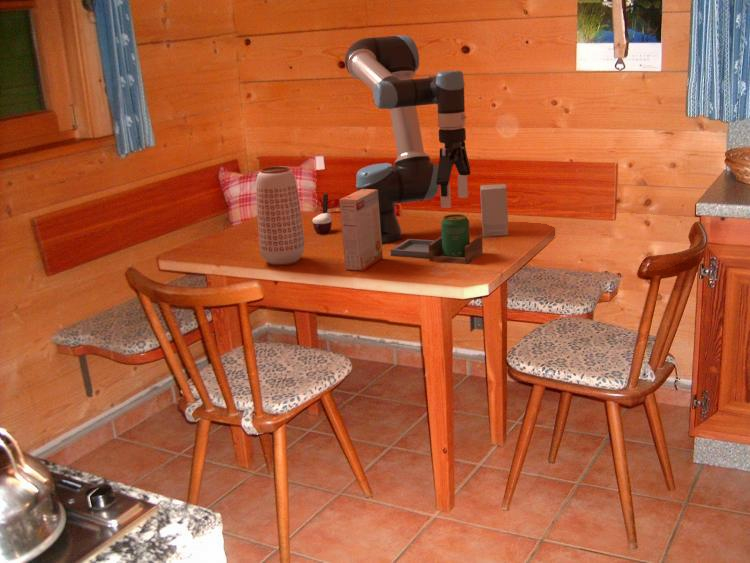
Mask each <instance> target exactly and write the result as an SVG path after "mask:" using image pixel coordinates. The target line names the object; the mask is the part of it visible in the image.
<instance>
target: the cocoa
mask: <svg viewBox="0 0 750 563" xmlns="http://www.w3.org/2000/svg"><path fill="white" fill-rule="evenodd" d="M322 196H323V197H322V213H320V214H318V215H316V216H315V217H313V218H312V225H313V228H314V231H315V232H316V233H317V234H320V235H321V234H327V233H329V232H330V231H331V229H332V224H333V223H332V220H333V215H332V214H330V213H328V205H329V204H328V202H329V198H328V197H329V194H328V193H323V194H322Z"/></svg>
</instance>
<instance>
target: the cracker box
mask: <svg viewBox="0 0 750 563" xmlns="http://www.w3.org/2000/svg"><path fill="white" fill-rule="evenodd" d="M338 203H339V212H340V214H339V215H340V222H341V234H342V245H343V254H344V255H343V256H344V269H345V270H346V271H359V272H360V271H361V272H363V271H365V270H366V269H367V268H369V267H370V266H373V265H374V264H375V263H377V262H378V261H379V260H381V259H383V257H384V255H383V243H382V240H381V227H380V213H379V200H378V190H376V189H361V190H359V191H357V190H356V191H355V192H352V193H350V194H349V195H346V196H344V197H342V198H339V200H338Z"/></svg>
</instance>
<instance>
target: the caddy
mask: <svg viewBox="0 0 750 563" xmlns="http://www.w3.org/2000/svg"><path fill="white" fill-rule="evenodd" d="M483 253H484V252H483V235H482V236H480V235H479V236H477V237H475V239H473V240H472V241H471V242H470V243H469V244H468V245H466V246H465V258H462V257H448V256H443V254H442V235H441V236H439V237H438V238H436V239H435V240H434V241H433V242H432V243H430V244H429V258H428V260H429V262H435V263H449V264H451V263H452V264H462V265H469V264H470V263H472V262H473V261H475V259H476V258H478V257H480V255H483Z"/></svg>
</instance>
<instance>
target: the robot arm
mask: <svg viewBox="0 0 750 563" xmlns="http://www.w3.org/2000/svg"><path fill="white" fill-rule="evenodd" d="M344 65H345V68H346V71H347V72H348V74H350V75H351V76H352V77H353V78H354V79H357V80H361V81H362V83H364V84H365V85H366V86H367V87H368V88H369V89H370V90H371V91H372V95H373V97H372V98H373V102H374V103H375V107H377V108H378V109H380V110H382V109H383V110H389V113H390V118H391V124H392V131H393V135H394V136H393V137H394V142H395V146H396V147H395V148H396V153H397V158H396V160H395V161H394V167H393V164H392V163H388V162H383V163H375V164H370V165H367V166H364V167H362V168H360V169H359V170H358V171H357V173H356V181H355V183H356V184H355V187H356V191H359V190H361V189H376V190H378V200H379V213H380V227H381V240H382V244H385V243H391V242H395V241H398V240H400V239H401V238H402V235H403V234H402V228H401V226H400V223H399V220H398V218H397V215H396V209H395V205H397V204H403V203H404V204H405V203H410V202H411V203H412V202H413V203H414V202H423V201H427V200H432V199H433V198H435V197H436V195H437V193H438V191H439V192H440V194H439V195H440V208H443V209H444V208H445V209H448V208H449V209H450V208H452V201H451V200H452V199H451V184H449V182H450V178H451V174H452V170H453V165H455V168H456V170H457V173H458V175H457V191H458V192H457V195H458V198H459V199H460V198H461V199H462V198H463V199H468V197H469V188H468V186H469V185H468V176H469V175H471V168H470V167H471V166H470V162H469V157H468V154H467V150H466V139H467V134H466V127H465V126H466V119H467V115H465V114H466V112H465V111H466V108H465V86H466V85H465V79H464V78H465V77H464V73H463V72H462V71H461V70H442V71H438V72H437V73H436V76H435V75H434V76H428V77H424V78H423V77H422V78H415V76H416V72H417V71H418V69H419V67H420V54H419V49H418V47H417V44H416V42H415V40H414V39H413V38H412V37H411V36H408V35H399V34H396V35H389V36H379V37H378V36H377V37H376V36H374V37H364V38H361V39H359V40H357V41H355V42H354V43H352V44H351V45H350V46H349V48H348V49H347V51H346V53H345V57H344ZM428 105H429V106H430V105H437V127H438V128H439V130H438V141H439V142H440V143H441V144H444V147H443V148H442V147H441V148H439V159H438V165H437V163H435V162H434V161H433V162H432V161H431V157H430V155H428V154H427V153H426V152H425V150H424V145H423V144H424V143H423V138H422V133H421V132H422V131H421V127H420V120H419V116H418V110H417V107H418V106H428ZM439 189H440V190H439Z"/></svg>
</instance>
